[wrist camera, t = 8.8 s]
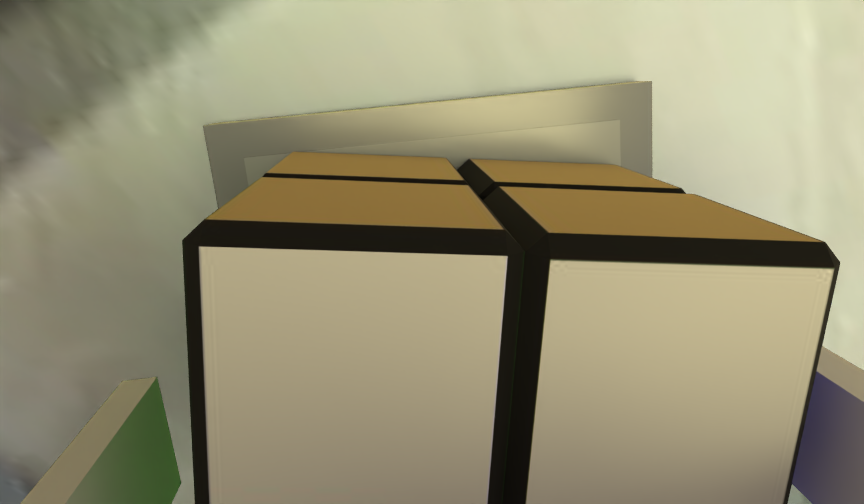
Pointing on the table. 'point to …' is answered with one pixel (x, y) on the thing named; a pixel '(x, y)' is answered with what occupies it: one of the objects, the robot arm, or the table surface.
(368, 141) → the trivet
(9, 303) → the table surface
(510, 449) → the puzzle cube
